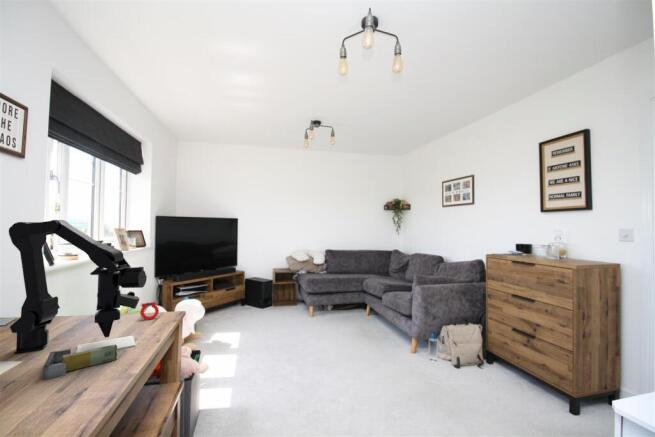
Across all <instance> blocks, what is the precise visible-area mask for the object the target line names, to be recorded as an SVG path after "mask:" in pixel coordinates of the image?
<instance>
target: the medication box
mask: <svg viewBox="0 0 655 437" xmlns="http://www.w3.org/2000/svg"><path fill="white" fill-rule="evenodd" d="M117 352H118V349H117V345H110V346H105V347H101V348H96V349H91V350H87V351H82V352H77V353H76V352H74V353H72V352H71V354H68V355H63V356H62V362H61V363H63V362H67V364H66V372H69V371H73V370H79V369H83V368H87V367H90V366H95V365H100V364H103V363H108V362H113V361H117V360H118V359H117V358H118V356H117V355H118V353H117Z"/></svg>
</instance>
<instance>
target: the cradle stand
mask: <svg viewBox="0 0 655 437" xmlns="http://www.w3.org/2000/svg"><path fill="white" fill-rule="evenodd" d="M68 354H72V348H66V349H61V350H60V349H59V350H55V351H50V352H49V354H48V356H47V359H46V361H45V362H44V365H43V367H42V379H41V380H43V381H44V380H47V379H53V378H58V377H63V376H66V375H67V371H66V364H67V362H63V363H62V356H63V355H68Z"/></svg>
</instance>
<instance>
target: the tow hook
mask: <svg viewBox="0 0 655 437" xmlns="http://www.w3.org/2000/svg"><path fill="white" fill-rule="evenodd" d="M156 304H157V302H156V301H152V302H151V301H149V302H143V303H141V309H140V312H139V314H140V316H141V318H142V319H144V320H147V321H149V320H154V319H155V318H157V316H158V314H159V312H160V311H159V310H160V309H159V307H158V305H156ZM149 307H151V308H152V309H154V311H155V312H154V314H153V315H151V316H147V315H146V314H145V312H146V311H147V309H148V308H149Z"/></svg>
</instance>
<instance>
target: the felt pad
mask: <svg viewBox="0 0 655 437" xmlns="http://www.w3.org/2000/svg"><path fill="white" fill-rule="evenodd" d="M110 345H117V350H123V349H127V348H132V347H136V341H135V336H134V335H128V336H123V337H116V338H111V339H105V340H100V341H93V342H88V343H81V344H78V345H77V348H76V351H75V353H77V352H82V351H87V350H91V349H96V348H101V347H105V346H110Z"/></svg>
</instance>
